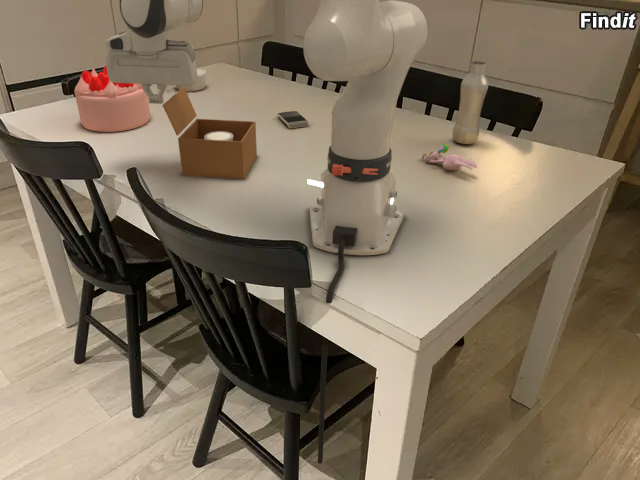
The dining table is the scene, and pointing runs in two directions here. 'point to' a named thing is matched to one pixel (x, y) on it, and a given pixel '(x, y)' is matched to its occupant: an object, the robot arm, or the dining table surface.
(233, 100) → the dining table surface
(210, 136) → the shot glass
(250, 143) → the carton
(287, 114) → the cell phone
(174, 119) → the flap
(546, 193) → the dining table surface
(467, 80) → the plastic bottle
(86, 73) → the cake
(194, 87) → the ramekin
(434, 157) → the pink elongated figure
